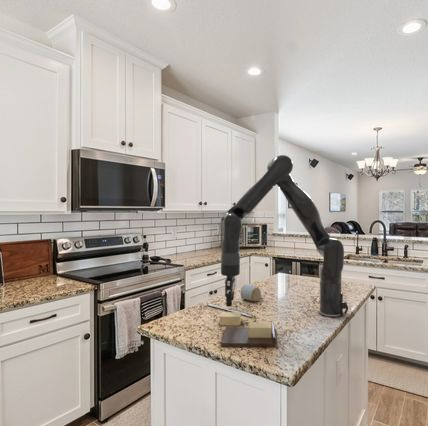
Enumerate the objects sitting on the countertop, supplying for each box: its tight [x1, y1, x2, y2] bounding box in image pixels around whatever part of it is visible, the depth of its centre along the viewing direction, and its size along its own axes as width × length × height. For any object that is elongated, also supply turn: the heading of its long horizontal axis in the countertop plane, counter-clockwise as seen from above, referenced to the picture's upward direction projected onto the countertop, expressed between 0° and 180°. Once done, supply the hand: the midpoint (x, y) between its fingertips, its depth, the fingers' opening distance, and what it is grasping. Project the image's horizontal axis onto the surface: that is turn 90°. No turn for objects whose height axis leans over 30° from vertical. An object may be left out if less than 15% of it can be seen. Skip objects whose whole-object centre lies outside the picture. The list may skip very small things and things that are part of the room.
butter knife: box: [206, 303, 253, 317], centre depth 136 cm, size 1×27×3 cm
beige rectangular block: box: [248, 321, 272, 338], centre depth 107 cm, size 8×5×4 cm, turn 89°
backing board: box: [220, 321, 276, 348], centre depth 107 cm, size 18×14×3 cm
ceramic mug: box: [240, 283, 263, 303], centre depth 153 cm, size 11×8×8 cm
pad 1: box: [219, 311, 242, 327], centre depth 121 cm, size 8×5×4 cm, turn 89°
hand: (230, 302), depth 121 cm, fingers open, 8 cm apart
